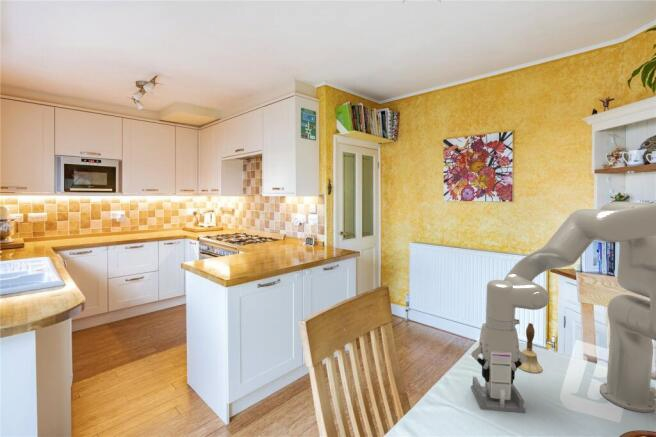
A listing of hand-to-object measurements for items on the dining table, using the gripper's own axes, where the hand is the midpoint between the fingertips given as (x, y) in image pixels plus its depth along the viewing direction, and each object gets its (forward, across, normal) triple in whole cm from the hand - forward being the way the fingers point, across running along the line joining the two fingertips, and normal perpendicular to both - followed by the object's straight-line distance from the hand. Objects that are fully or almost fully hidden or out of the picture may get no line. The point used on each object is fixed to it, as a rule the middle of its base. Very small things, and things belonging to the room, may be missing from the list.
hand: (497, 379), depth 97 cm
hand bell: (+7, -18, -21) cm, 28 cm away
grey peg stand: (+6, 0, 0) cm, 6 cm away
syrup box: (+5, 0, 0) cm, 5 cm away
